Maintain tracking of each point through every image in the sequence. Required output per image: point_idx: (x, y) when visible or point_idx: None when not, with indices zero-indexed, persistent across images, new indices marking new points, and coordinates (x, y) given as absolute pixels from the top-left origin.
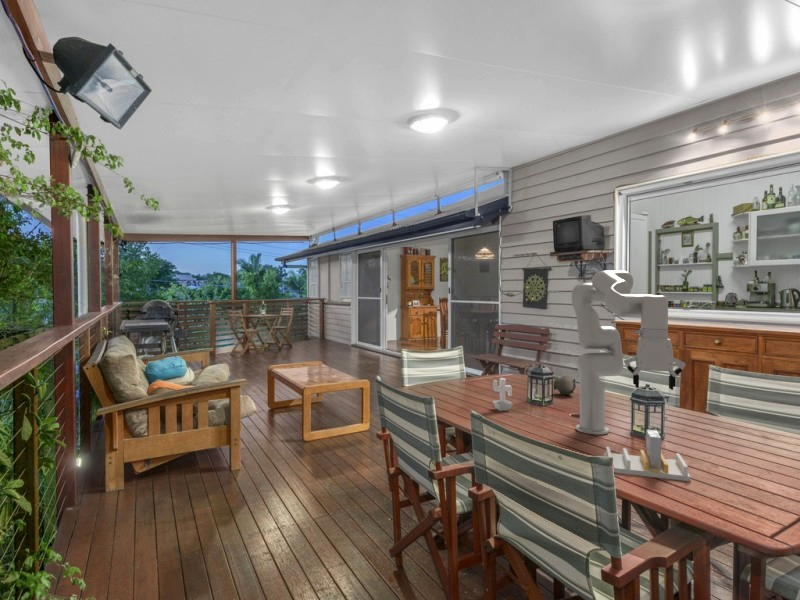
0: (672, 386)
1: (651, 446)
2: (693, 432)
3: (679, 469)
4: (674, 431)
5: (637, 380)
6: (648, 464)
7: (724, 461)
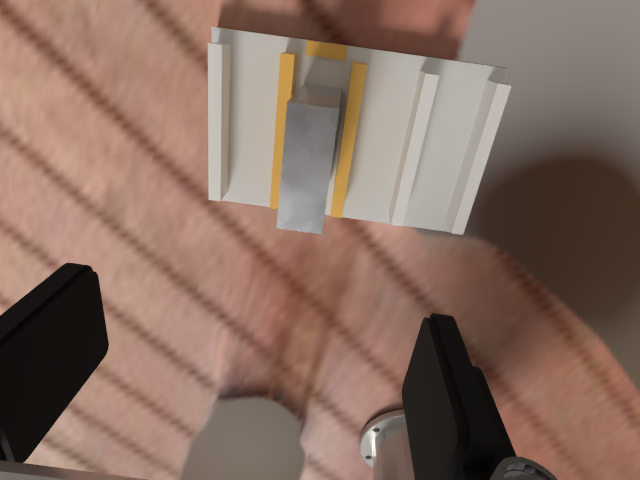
0: (54, 280)
1: (334, 100)
2: (128, 450)
3: (235, 101)
4: (175, 453)
5: (464, 374)
6: (355, 63)
7: (79, 248)
